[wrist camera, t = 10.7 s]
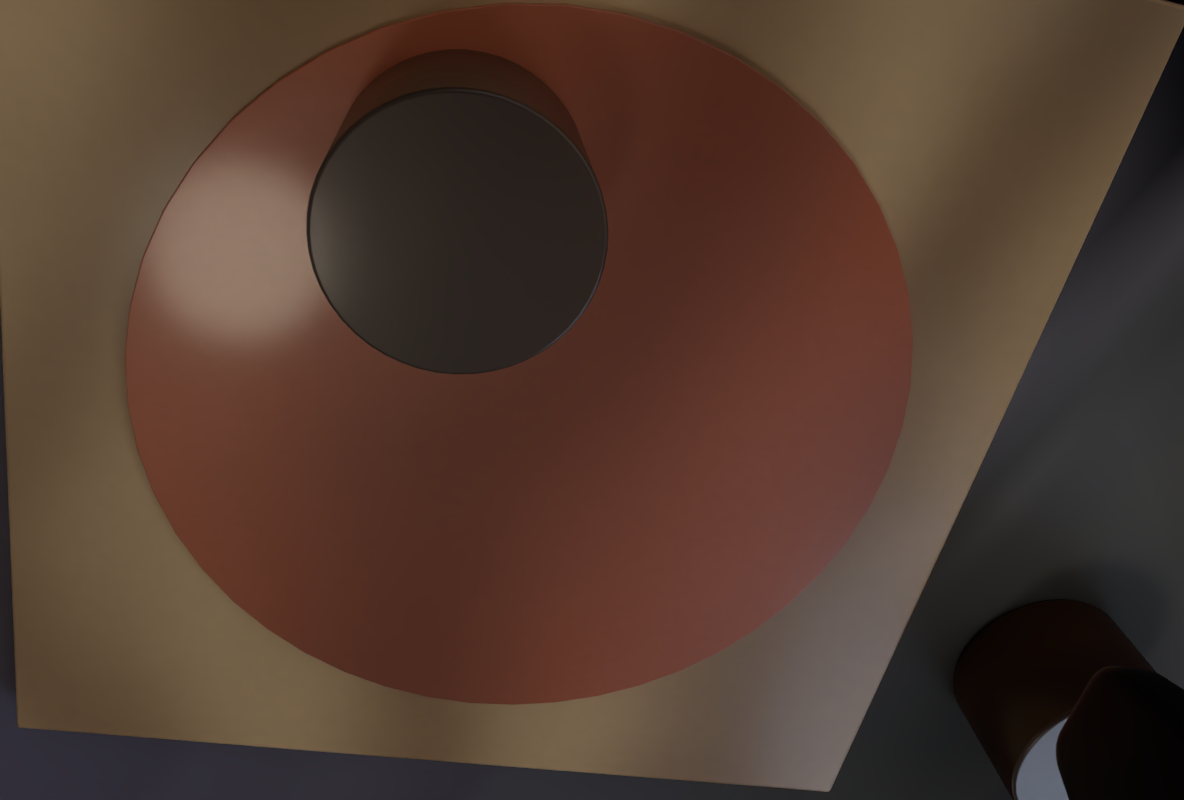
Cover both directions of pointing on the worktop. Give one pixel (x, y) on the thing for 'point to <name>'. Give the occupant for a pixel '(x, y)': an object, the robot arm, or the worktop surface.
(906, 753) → the worktop surface
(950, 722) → the worktop surface
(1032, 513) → the worktop surface
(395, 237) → the eye
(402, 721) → the face board
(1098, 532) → the worktop surface
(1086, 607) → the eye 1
